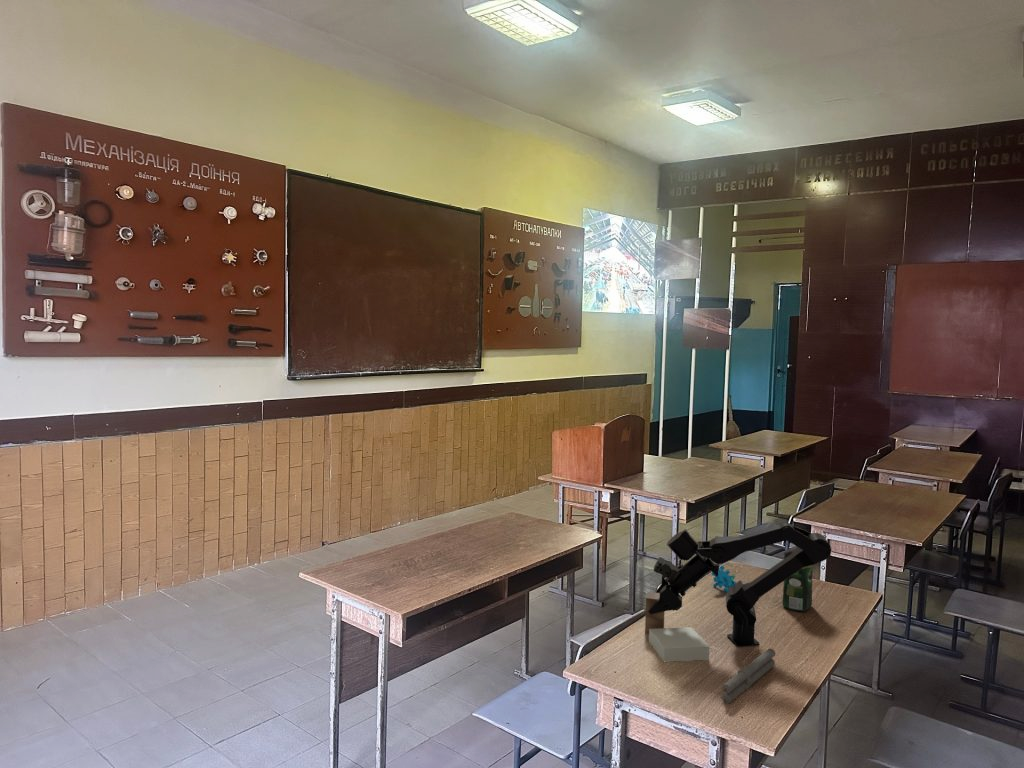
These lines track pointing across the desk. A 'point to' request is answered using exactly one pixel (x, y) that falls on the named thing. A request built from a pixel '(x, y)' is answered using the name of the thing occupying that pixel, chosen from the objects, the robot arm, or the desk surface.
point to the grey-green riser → (678, 644)
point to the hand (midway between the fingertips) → (650, 606)
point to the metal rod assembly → (748, 676)
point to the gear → (724, 579)
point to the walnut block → (653, 619)
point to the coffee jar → (798, 587)
